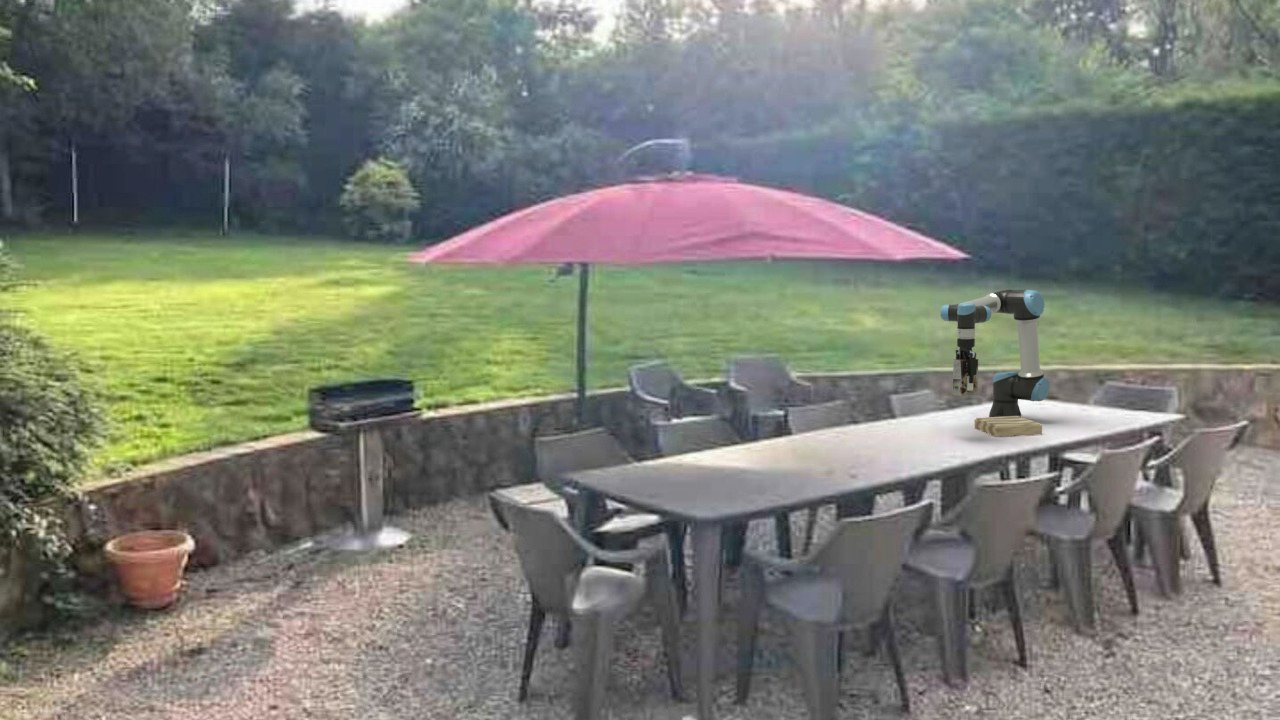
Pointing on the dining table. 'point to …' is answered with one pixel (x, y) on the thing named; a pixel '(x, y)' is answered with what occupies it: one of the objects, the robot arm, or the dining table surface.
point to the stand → (1008, 426)
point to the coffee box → (963, 378)
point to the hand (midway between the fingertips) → (965, 389)
